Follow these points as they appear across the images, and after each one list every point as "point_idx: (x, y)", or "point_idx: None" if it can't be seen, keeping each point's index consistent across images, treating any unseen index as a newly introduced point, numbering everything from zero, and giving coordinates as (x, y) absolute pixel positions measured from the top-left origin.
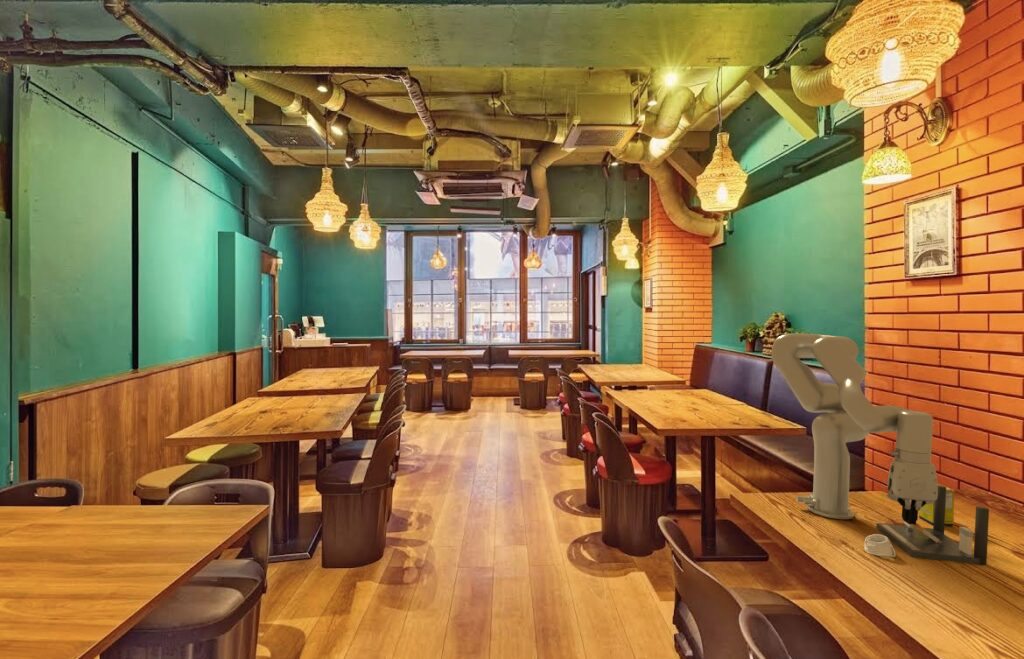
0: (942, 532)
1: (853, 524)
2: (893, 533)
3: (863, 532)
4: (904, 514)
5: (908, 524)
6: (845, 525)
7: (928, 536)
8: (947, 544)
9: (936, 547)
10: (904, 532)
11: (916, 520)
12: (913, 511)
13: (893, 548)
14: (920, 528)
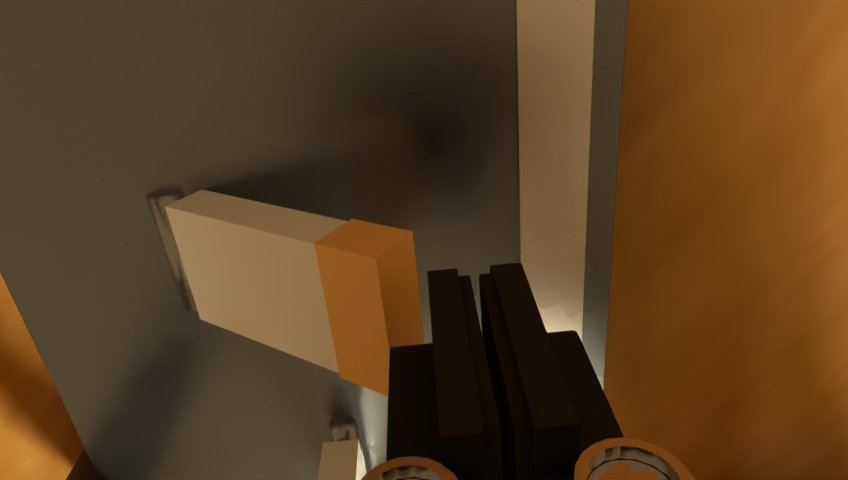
0: (78, 474)
1: (742, 446)
2: (575, 278)
3: (763, 311)
4: (596, 390)
5: (360, 475)
6: (831, 405)
7: (280, 207)
8: (103, 180)
9: (254, 32)
10: None
11: (399, 346)
12: (496, 421)
13: None
14: (370, 238)
